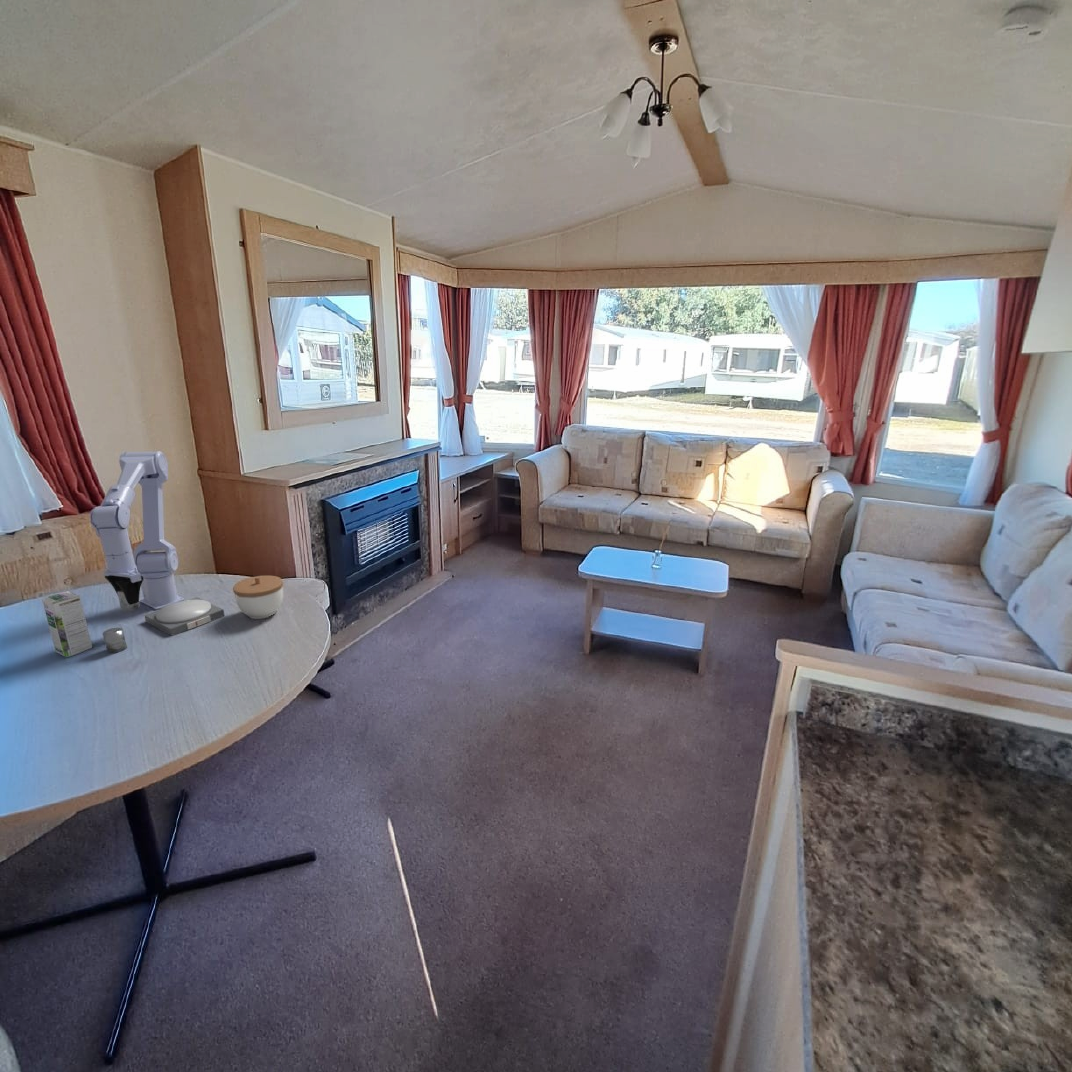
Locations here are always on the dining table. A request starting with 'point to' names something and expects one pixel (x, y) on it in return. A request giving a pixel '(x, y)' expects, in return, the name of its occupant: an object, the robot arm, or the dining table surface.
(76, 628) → the syrup box
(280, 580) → the lidded bowl
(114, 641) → the cylinder
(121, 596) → the cylinder
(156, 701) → the dining table surface
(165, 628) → the scale
